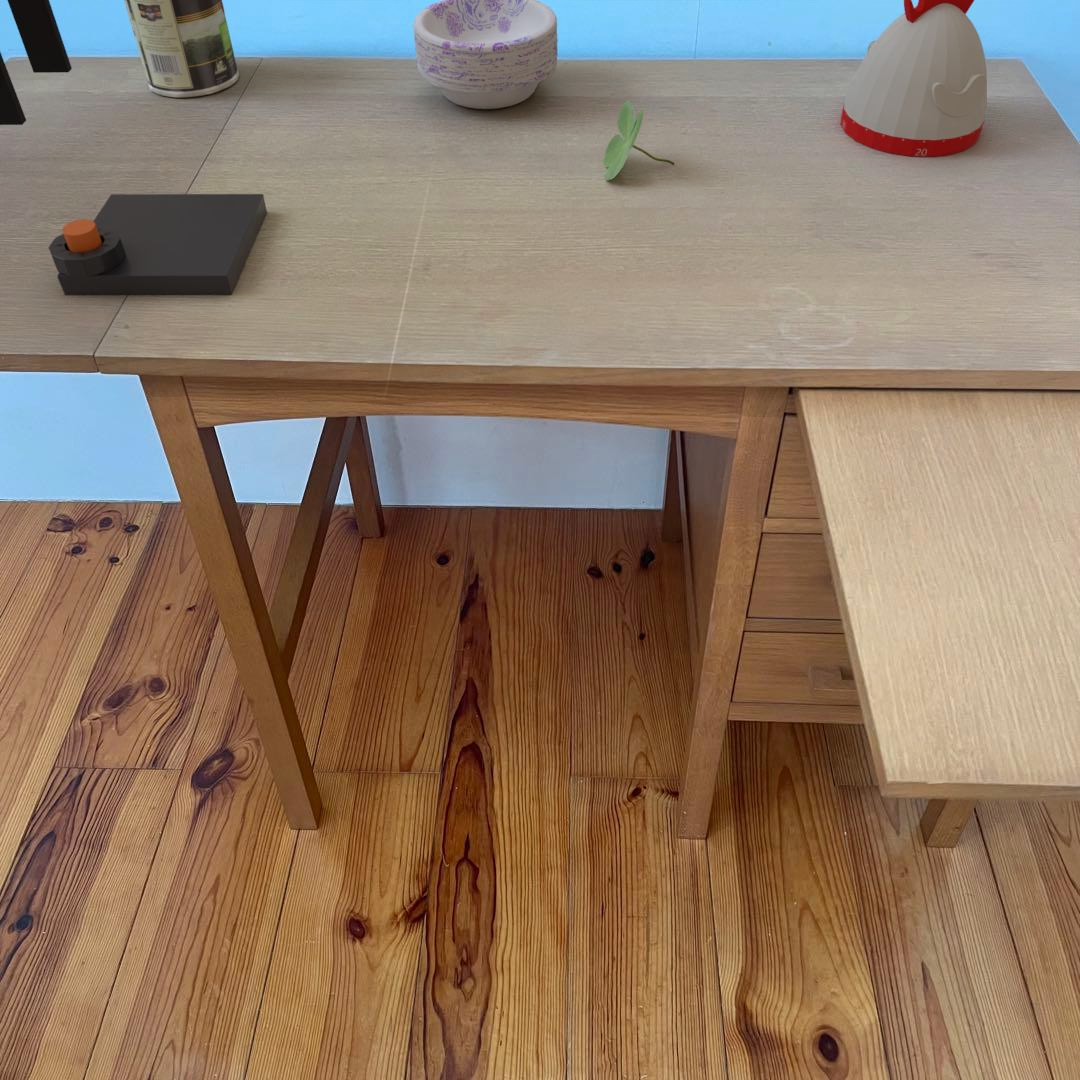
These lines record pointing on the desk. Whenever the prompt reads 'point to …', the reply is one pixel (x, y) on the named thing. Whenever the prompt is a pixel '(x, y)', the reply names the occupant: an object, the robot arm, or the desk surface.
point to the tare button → (81, 236)
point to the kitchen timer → (920, 84)
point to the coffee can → (183, 46)
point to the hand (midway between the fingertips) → (30, 95)
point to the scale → (164, 245)
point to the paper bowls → (486, 49)
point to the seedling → (624, 141)
